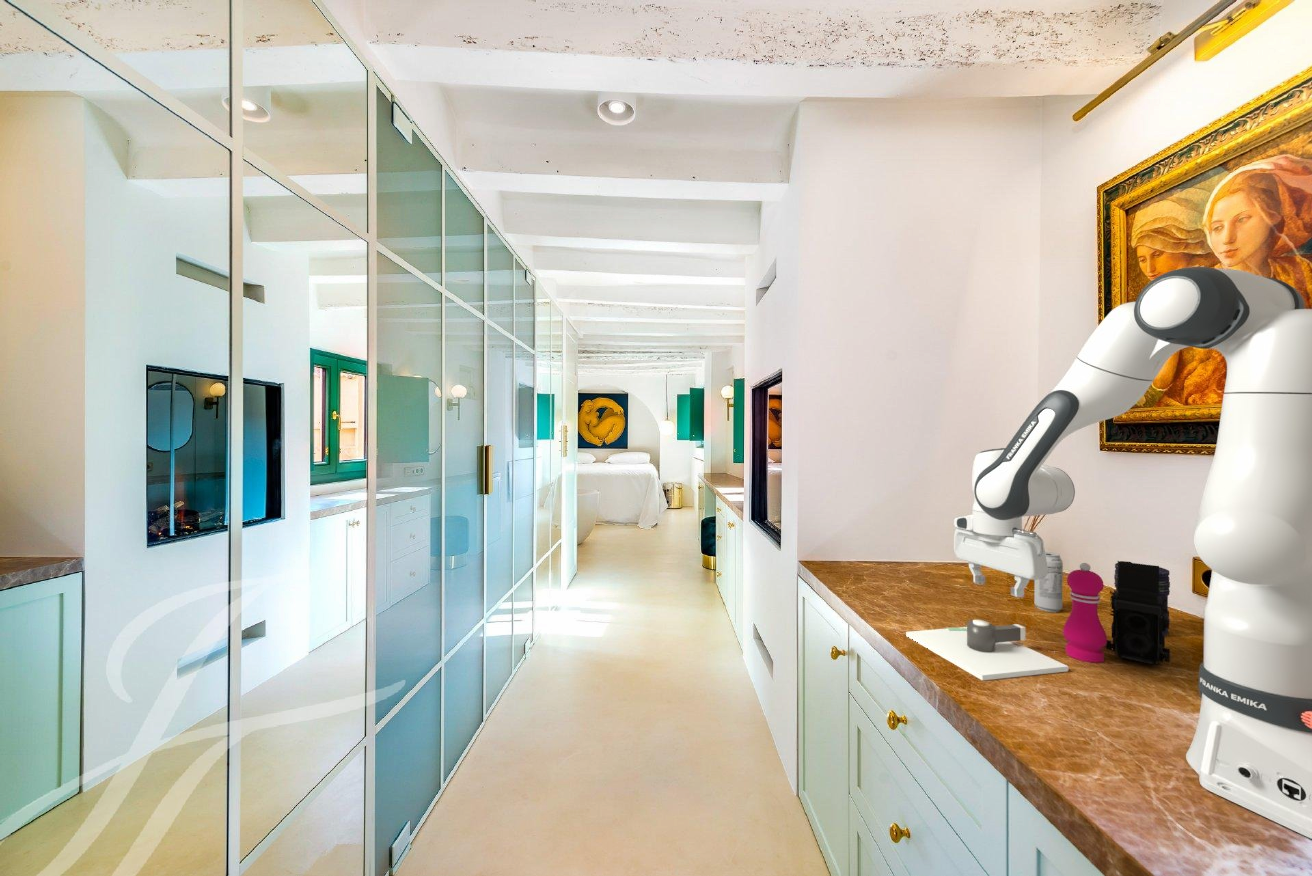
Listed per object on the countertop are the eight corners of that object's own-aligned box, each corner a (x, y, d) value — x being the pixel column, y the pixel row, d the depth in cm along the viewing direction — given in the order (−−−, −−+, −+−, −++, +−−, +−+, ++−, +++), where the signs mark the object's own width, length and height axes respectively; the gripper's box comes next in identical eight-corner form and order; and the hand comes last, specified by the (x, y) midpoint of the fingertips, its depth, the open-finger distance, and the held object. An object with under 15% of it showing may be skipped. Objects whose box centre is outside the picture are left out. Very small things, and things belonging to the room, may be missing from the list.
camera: (1104, 662, 107) (1105, 565, 107) (1107, 642, 117) (1107, 554, 117) (1172, 677, 100) (1173, 574, 100) (1169, 655, 110) (1170, 561, 110)
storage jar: (1182, 637, 120) (1182, 573, 120) (1139, 636, 120) (1139, 573, 120) (1142, 621, 130) (1143, 562, 130) (1102, 621, 130) (1103, 562, 130)
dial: (980, 652, 109) (980, 627, 109) (961, 642, 114) (961, 618, 114) (1031, 647, 111) (1032, 622, 111) (1011, 638, 116) (1011, 614, 116)
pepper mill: (1115, 665, 105) (1116, 568, 105) (1075, 662, 107) (1075, 566, 107) (1093, 650, 112) (1093, 559, 112) (1055, 648, 114) (1056, 558, 114)
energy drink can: (1060, 607, 140) (1061, 552, 140) (1063, 614, 135) (1064, 557, 135) (1033, 603, 143) (1033, 550, 143) (1035, 610, 138) (1035, 554, 138)
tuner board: (1069, 671, 103) (1069, 665, 103) (982, 680, 99) (982, 674, 99) (979, 629, 125) (979, 624, 125) (905, 635, 121) (905, 630, 121)
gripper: (1055, 532, 100) (1057, 603, 100) (971, 517, 120) (972, 576, 120) (1028, 533, 98) (1029, 606, 98) (948, 518, 118) (948, 578, 118)
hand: (997, 589), depth 109 cm, fingers open, 8 cm apart
